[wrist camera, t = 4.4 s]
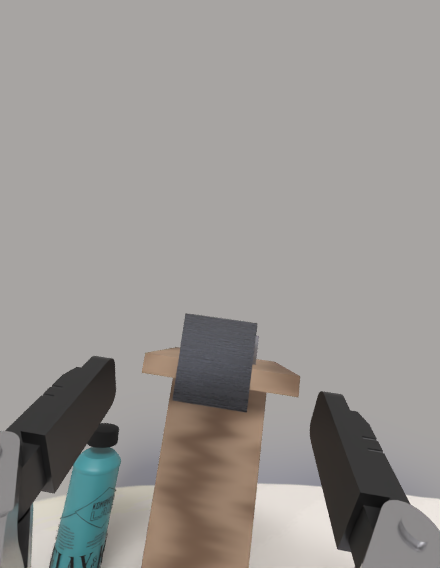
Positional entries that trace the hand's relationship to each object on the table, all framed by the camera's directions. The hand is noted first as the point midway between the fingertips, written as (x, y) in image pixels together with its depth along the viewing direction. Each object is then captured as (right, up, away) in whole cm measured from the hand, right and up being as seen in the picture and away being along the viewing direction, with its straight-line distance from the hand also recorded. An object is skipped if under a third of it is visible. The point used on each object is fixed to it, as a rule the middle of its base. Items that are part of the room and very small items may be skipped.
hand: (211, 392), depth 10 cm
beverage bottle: (-19, -36, +25) cm, 48 cm away
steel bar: (0, -2, +10) cm, 10 cm away
